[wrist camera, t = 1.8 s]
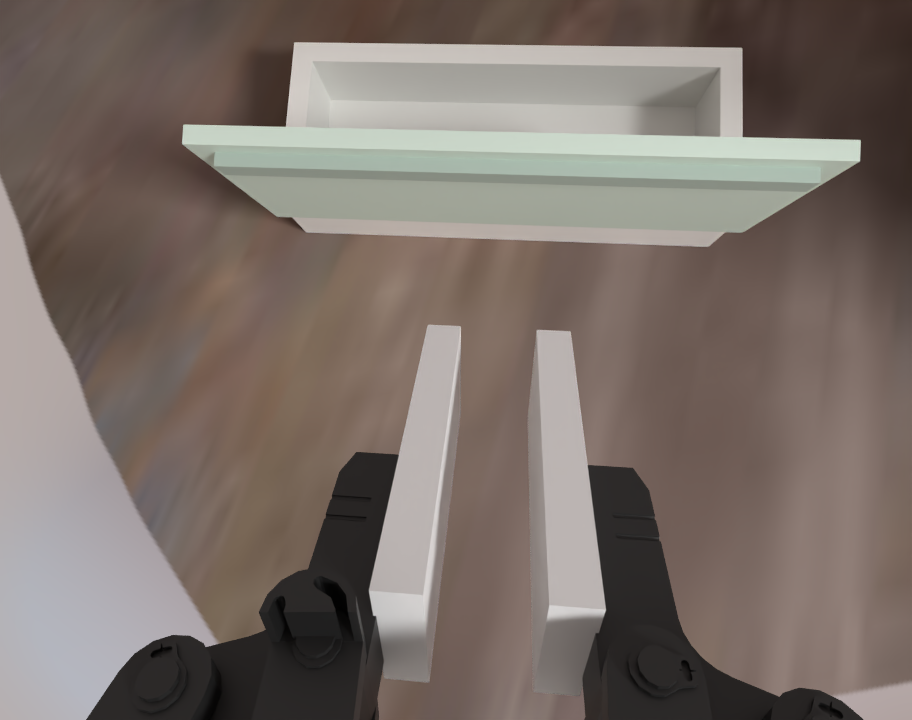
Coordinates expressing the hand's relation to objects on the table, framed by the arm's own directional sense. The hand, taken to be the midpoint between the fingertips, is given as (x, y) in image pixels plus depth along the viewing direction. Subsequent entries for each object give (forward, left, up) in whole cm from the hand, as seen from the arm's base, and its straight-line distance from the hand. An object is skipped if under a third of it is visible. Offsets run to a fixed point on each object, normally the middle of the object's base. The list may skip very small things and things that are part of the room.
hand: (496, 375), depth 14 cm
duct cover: (0, -11, -12) cm, 16 cm away
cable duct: (0, -16, -22) cm, 27 cm away
